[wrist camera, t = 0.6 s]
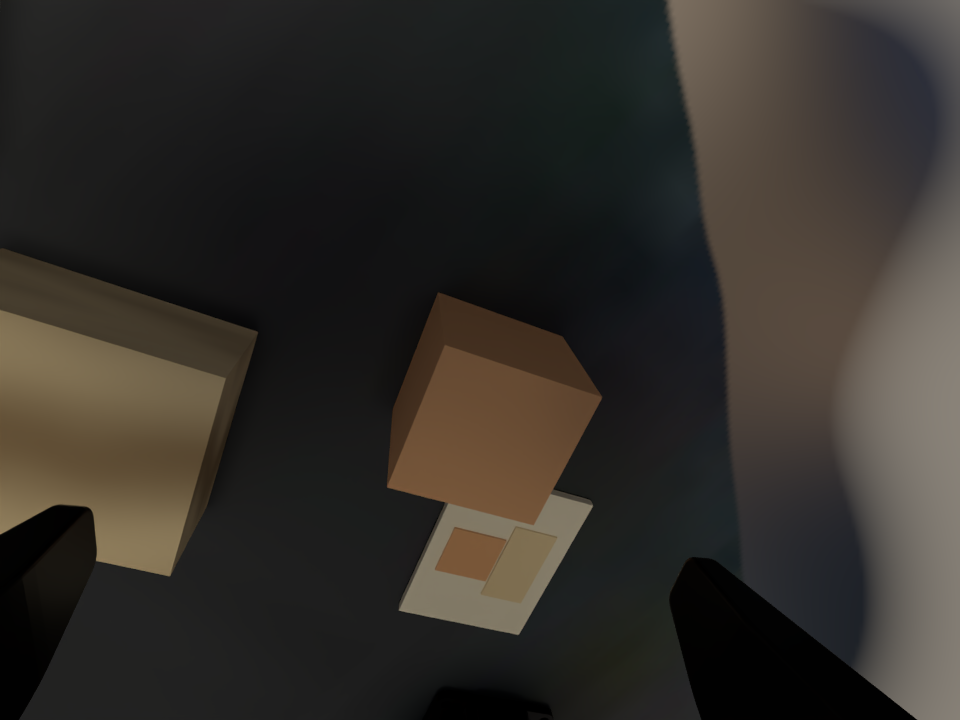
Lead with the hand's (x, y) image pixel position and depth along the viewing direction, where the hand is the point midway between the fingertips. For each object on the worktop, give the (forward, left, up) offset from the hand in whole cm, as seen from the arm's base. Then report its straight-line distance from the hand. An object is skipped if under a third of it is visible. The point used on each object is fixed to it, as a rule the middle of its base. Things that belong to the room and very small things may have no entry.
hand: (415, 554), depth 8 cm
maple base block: (-7, +9, -13) cm, 17 cm away
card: (-10, -7, -12) cm, 17 cm away
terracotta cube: (-2, -3, -13) cm, 13 cm away
